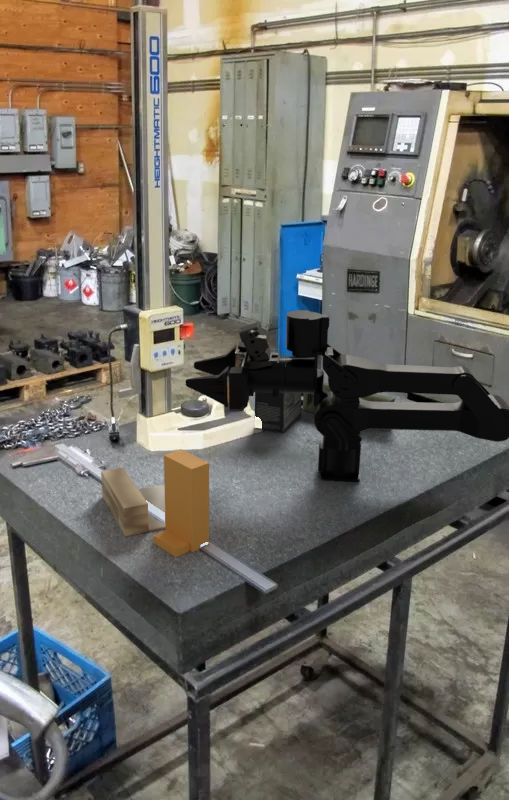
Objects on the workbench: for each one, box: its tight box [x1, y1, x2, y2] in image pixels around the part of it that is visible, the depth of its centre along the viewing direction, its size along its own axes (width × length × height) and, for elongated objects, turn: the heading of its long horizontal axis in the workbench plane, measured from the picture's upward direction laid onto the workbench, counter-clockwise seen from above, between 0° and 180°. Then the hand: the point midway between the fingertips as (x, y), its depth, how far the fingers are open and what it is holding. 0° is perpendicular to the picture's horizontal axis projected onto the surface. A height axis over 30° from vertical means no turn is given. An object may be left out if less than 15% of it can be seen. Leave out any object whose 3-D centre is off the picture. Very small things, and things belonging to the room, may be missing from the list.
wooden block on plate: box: [100, 467, 166, 537], centre depth 115 cm, size 10×13×4 cm
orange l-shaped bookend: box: [153, 449, 210, 558], centre depth 104 cm, size 6×6×12 cm
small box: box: [254, 390, 303, 434], centre depth 149 cm, size 11×6×10 cm, turn 157°
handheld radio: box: [301, 381, 396, 432], centre depth 153 cm, size 7×3×25 cm
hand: (190, 373), depth 125 cm, fingers open, 9 cm apart
